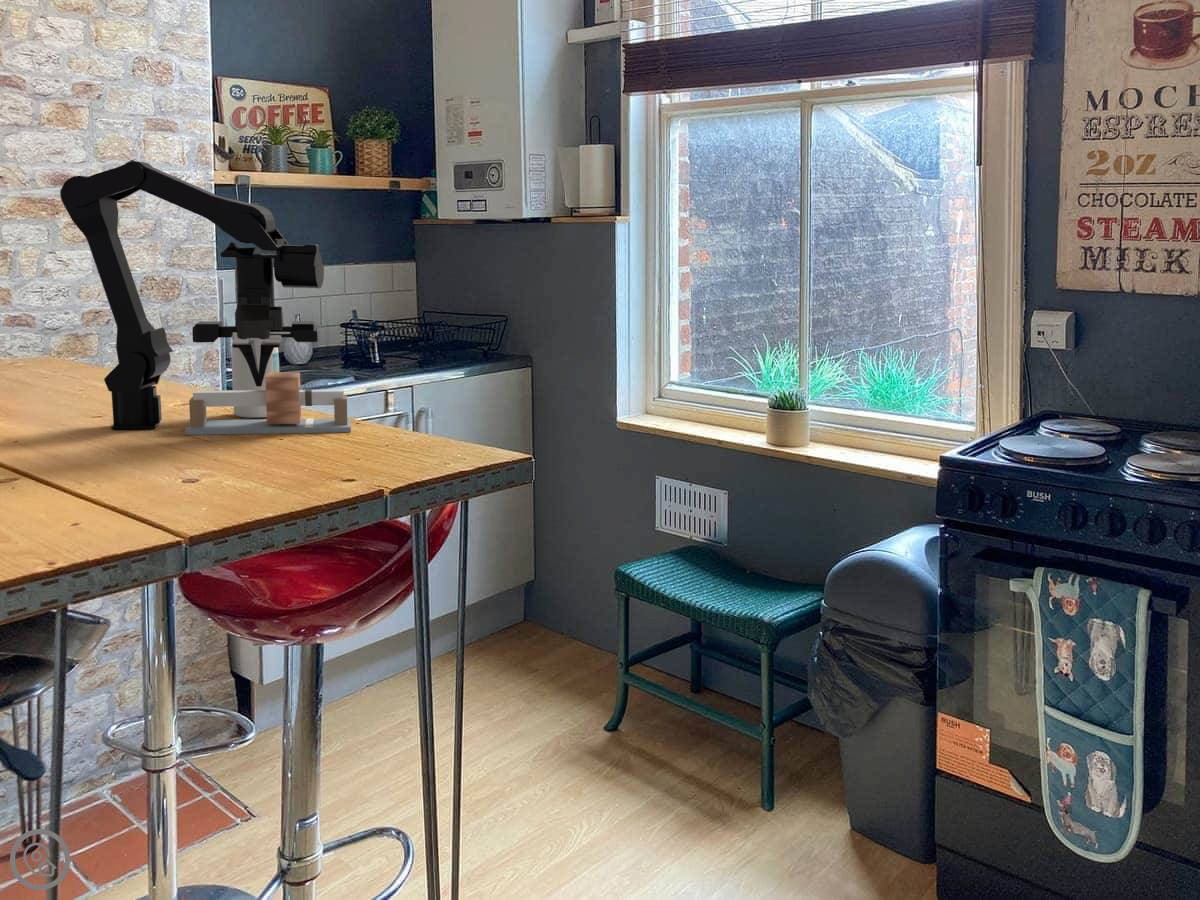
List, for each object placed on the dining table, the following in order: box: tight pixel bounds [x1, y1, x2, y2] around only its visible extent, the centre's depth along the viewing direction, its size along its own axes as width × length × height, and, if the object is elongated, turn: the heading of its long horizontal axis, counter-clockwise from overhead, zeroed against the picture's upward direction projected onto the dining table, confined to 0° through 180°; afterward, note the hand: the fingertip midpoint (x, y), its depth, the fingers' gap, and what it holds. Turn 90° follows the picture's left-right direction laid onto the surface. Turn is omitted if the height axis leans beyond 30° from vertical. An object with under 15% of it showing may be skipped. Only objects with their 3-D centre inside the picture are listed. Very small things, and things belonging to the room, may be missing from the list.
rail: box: [184, 388, 352, 436], centre depth 182 cm, size 25×8×6 cm, turn 102°
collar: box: [265, 371, 302, 424], centre depth 182 cm, size 5×6×7 cm
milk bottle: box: [231, 338, 280, 419], centre depth 193 cm, size 8×8×20 cm
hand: (259, 386), depth 181 cm, fingers closed
